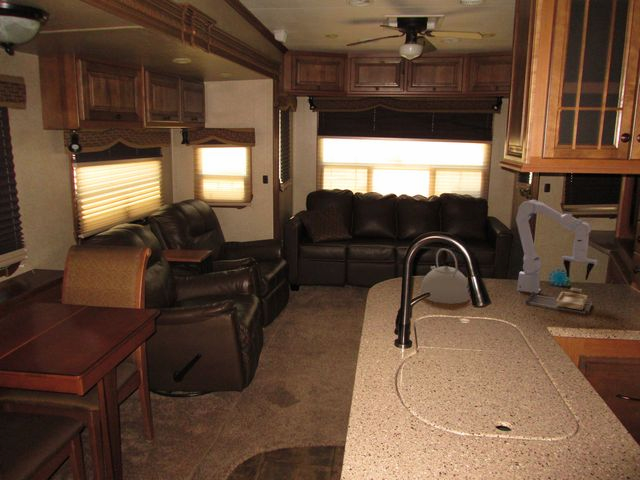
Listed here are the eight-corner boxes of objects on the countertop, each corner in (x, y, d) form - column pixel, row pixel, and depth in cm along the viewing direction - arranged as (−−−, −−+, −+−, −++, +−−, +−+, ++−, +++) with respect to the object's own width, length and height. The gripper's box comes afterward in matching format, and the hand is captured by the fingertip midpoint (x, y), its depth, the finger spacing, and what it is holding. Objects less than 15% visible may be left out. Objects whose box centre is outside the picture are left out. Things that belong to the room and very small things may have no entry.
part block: (568, 300, 238) (569, 289, 237) (570, 297, 241) (571, 287, 240) (579, 302, 235) (580, 291, 234) (580, 299, 239) (582, 289, 238)
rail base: (525, 304, 231) (525, 300, 231) (532, 295, 244) (533, 291, 244) (587, 315, 218) (587, 311, 217) (591, 304, 231) (592, 301, 231)
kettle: (409, 289, 252) (411, 244, 248) (450, 285, 259) (453, 242, 254) (435, 305, 229) (438, 256, 224) (479, 301, 235) (483, 253, 231)
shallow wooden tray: (555, 307, 225) (555, 300, 224) (561, 297, 237) (561, 291, 237) (582, 311, 219) (582, 304, 218) (586, 301, 232) (587, 295, 231)
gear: (544, 280, 262) (553, 265, 265) (546, 286, 266) (554, 271, 269) (566, 288, 255) (575, 272, 257) (567, 294, 259) (576, 278, 262)
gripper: (561, 248, 234) (558, 277, 237) (597, 252, 226) (593, 282, 229) (564, 245, 240) (561, 273, 242) (599, 249, 232) (595, 278, 235)
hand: (577, 277), depth 236 cm, fingers open, 7 cm apart
